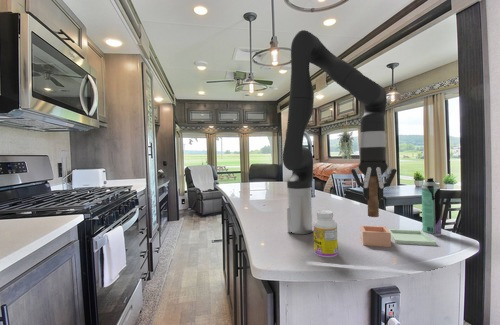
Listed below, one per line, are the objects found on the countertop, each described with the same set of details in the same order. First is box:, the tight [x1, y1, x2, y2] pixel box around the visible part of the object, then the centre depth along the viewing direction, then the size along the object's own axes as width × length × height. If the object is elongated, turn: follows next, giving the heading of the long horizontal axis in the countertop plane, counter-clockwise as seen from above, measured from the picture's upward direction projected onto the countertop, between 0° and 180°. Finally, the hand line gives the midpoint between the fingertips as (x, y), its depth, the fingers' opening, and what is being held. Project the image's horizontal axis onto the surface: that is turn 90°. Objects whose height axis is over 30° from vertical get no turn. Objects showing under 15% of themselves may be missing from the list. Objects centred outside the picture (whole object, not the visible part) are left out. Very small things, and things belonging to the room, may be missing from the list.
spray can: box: [421, 177, 442, 237], centre depth 92 cm, size 6×6×20 cm
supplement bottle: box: [312, 209, 339, 258], centre depth 75 cm, size 7×7×13 cm
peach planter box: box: [359, 224, 392, 248], centre depth 83 cm, size 8×8×5 cm
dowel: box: [367, 176, 380, 218], centre depth 83 cm, size 3×3×13 cm
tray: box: [387, 228, 437, 247], centre depth 85 cm, size 11×13×2 cm
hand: (373, 199), depth 83 cm, fingers closed on dowel, 3 cm apart
